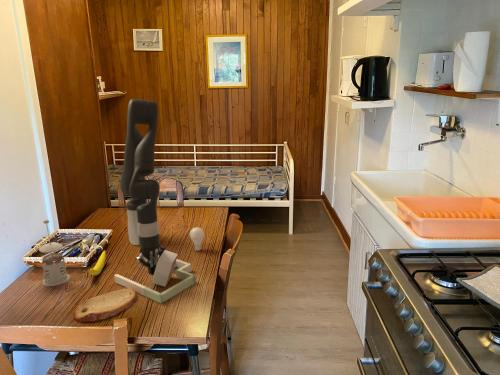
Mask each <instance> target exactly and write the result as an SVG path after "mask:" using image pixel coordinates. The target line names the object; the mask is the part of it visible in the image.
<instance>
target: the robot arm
mask: <svg viewBox="0 0 500 375" xmlns="http://www.w3.org/2000/svg"><path fill="white" fill-rule="evenodd" d="M126 122H127V125H126V126H127V128H126V139H125V144H124V145H125V146H124V154H123V155H124V156H123V157H124V158H123V166H122V167H123V168H122V172H121V176H120V182H119V184H120V185H119V186H120V187H119V188H120V190H121V193H122V194H123V195H125V196H130V198H131V199H130V200H128V201H127V202H126V214H127V215H126V216H127V224H126V225H127V232H128V233H127V234H128V240H129V241H128V242H130V244H131V245H133V246H140V249H139V255H138V256H135V257H134V258H135V261H137V262H138V264H140V265H142V267H146V268H147V272H148V274H149V275H150V276H152V277H153V276H154V272H155V269H156V264H157V262H158V259H159V258H160V256H161V255H162V253H163V252H164V250H166V247H165V246H162V245H161V244H160V243H161V239H160V238H161V237H160V226H159V223H158V222H159V221H158V211H157V210H158V209H157V208H158V207H157V206H158V198H159V197H160V196H159V194H160V190H161V187H160V183H159V182H158V181H157V180H156V179H153V178H152V179H151V178H150V179H146V178H145V177H148V176H151V175H153V174H154V173H155V150H156V149H155V147H156V141H157V140H156V139H157V132H158V131H157V130H158V122H159V106H158V104H157V102H156V101H154V100H147V99H138V98H135V99H134V98H132V99H130V100H129V102H128V107H127V121H126ZM137 124H138V125H147V126H148V128H147V132H146V134H145V135H144V136H143V135H142V134H141V133H142V132H140V131H139V128H138V125H137ZM148 200H150V201H149V202H148ZM158 255H159V257H158Z"/></svg>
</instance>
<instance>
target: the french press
mask: <svg viewBox="0 0 500 375" xmlns="http://www.w3.org/2000/svg"><path fill="white" fill-rule="evenodd" d="M49 223H50V220H49V219H44V220H43V224H46V230H47V236H48V241H49V242H48V243H45V244H43V245H42V246H40V247H39V248H38V250H39V252H40V253H41V254H42V253H44V254H47V255H44V256H43V257H42V258H41V260H42V262H41V267H42V273H43V278H44V279H43V281H42V282H41V283H42V285H44V286H47V287H55V286H59V285H62V284H65V283H66V282H68V281H69V280H70V278H71V276H70V275H69V274H68V273H67V268H66V262H65V261H66V260H65V258H64V257H63V256H64V254H63V253H58V252H57V251H60V250H61V249H62V248H63V244H62V243H59V242H55V241H53V242H51V240H50V239H51V238H50V234H49V228H48V224H49Z"/></svg>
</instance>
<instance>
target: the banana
mask: <svg viewBox="0 0 500 375" xmlns="http://www.w3.org/2000/svg"><path fill="white" fill-rule="evenodd" d="M106 254H107V253H106V250H103V251H102V253H101V254H100V256H99V257H98V260H97V262H96V264H95V266H94V267H93V268H90V267H88V268H87V272H88V273H89V275H92V276H98V275H100V274H101V273H102V271H103V268H104V265H105V261H106V257H107V256H106Z"/></svg>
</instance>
